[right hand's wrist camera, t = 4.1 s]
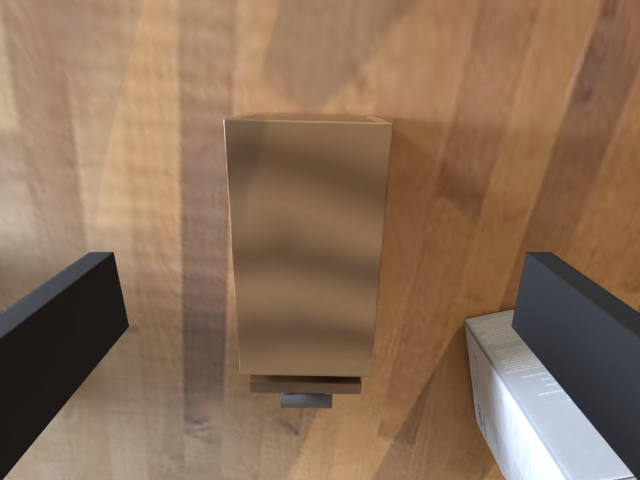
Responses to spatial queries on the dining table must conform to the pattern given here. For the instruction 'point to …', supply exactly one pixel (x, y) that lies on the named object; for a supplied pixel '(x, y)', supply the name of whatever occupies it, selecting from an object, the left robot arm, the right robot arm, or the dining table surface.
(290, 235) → the cabinet
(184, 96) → the dining table surface
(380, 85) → the dining table surface
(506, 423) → the hard drive box
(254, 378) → the drawer
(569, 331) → the right robot arm
